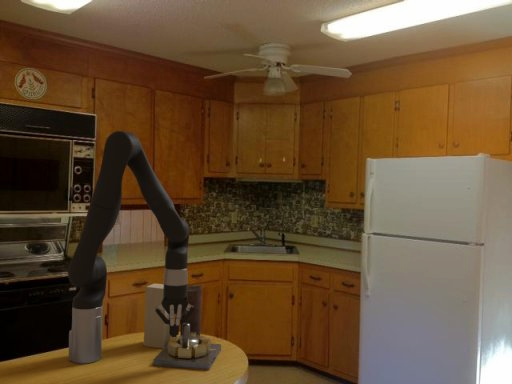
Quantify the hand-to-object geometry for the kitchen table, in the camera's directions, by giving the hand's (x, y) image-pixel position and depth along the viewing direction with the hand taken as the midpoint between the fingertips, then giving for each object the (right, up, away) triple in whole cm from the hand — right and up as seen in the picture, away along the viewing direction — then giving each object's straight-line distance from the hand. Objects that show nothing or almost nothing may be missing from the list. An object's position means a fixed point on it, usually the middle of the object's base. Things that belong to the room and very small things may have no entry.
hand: (174, 336), depth 149 cm
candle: (+2, -9, +23) cm, 25 cm away
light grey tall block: (-9, -9, +19) cm, 22 cm away
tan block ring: (+4, -7, +7) cm, 10 cm away
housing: (+4, -9, +7) cm, 12 cm away
